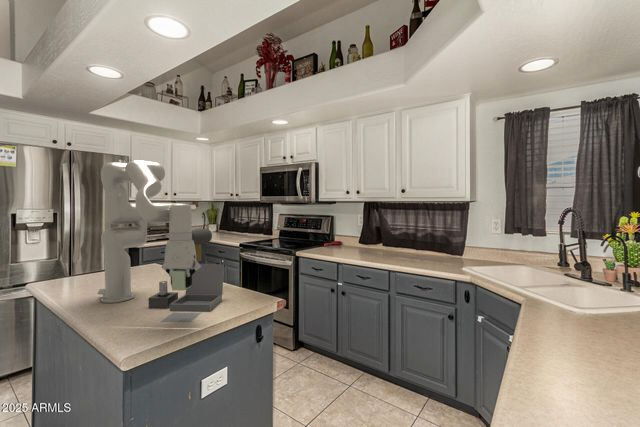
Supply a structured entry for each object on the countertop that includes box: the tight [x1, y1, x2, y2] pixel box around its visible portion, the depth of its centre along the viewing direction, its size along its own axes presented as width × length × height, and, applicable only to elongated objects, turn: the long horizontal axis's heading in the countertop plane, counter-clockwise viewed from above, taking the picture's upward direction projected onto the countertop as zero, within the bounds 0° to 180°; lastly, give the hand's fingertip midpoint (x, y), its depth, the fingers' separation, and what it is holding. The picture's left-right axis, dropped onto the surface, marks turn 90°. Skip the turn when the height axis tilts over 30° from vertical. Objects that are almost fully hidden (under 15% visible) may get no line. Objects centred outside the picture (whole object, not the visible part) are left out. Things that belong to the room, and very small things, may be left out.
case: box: [169, 293, 223, 312], centre depth 126 cm, size 16×13×3 cm
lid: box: [185, 263, 225, 296], centre depth 134 cm, size 16×13×1 cm
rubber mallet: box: [192, 228, 213, 264], centre depth 148 cm, size 12×8×30 cm, turn 159°
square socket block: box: [148, 291, 179, 309], centre depth 126 cm, size 8×8×4 cm
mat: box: [160, 312, 202, 323], centre depth 113 cm, size 11×9×1 cm
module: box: [171, 269, 191, 291], centre depth 112 cm, size 4×5×7 cm
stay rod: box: [158, 280, 169, 297], centre depth 126 cm, size 3×3×10 cm
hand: (181, 286), depth 112 cm, fingers closed on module, 4 cm apart
